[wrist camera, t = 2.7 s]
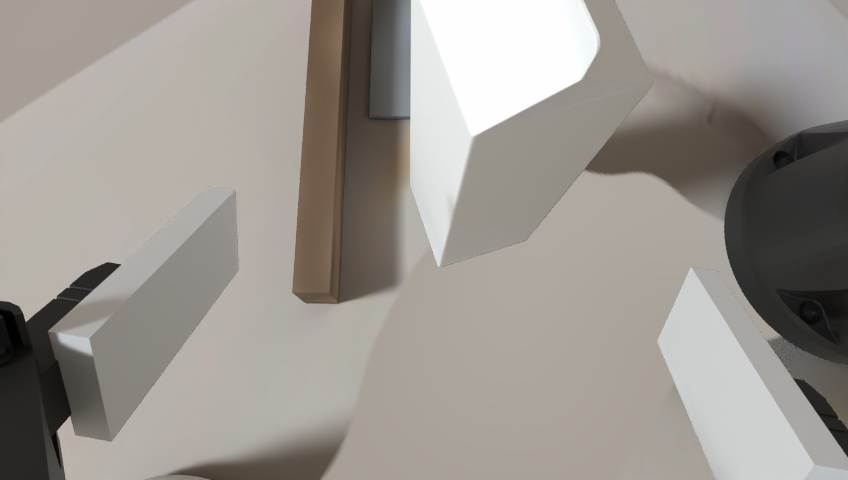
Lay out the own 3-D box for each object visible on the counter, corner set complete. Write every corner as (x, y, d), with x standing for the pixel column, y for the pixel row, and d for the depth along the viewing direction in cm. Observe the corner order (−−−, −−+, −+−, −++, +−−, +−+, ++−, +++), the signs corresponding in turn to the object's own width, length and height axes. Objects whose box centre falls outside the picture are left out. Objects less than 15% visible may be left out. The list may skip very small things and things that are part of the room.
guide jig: (551, -39, 40) (566, -84, 36) (573, 305, 34) (595, 295, 30) (326, -45, 40) (318, -91, 36) (305, 303, 33) (292, 292, 29)
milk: (494, 158, 36) (621, -170, 15) (527, 242, 35) (719, 12, 13) (407, 184, 35) (409, -121, 14) (436, 271, 34) (487, 76, 13)
